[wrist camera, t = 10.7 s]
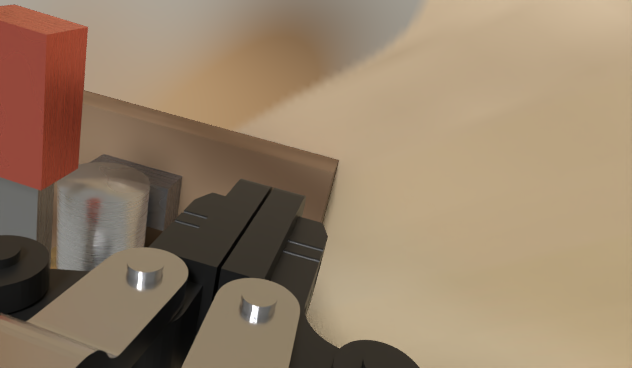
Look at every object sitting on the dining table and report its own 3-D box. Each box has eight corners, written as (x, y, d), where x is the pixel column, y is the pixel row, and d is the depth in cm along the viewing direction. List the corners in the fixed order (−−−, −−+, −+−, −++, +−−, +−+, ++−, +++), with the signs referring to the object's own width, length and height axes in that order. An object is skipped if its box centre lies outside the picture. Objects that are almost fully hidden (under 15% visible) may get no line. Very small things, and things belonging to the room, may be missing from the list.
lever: (70, 424, 19) (42, 462, 18) (0, 399, 19) (-34, 434, 18) (102, 31, 13) (62, 39, 12) (0, 0, 13) (-51, 4, 12)
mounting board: (278, 395, 28) (270, 417, 27) (38, 320, 29) (20, 338, 28) (338, 160, 22) (333, 173, 21) (36, 77, 23) (13, 84, 22)
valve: (161, 390, 27) (87, 514, 21) (87, 366, 28) (-8, 481, 22) (190, 167, 22) (101, 246, 16) (97, 141, 22) (-25, 208, 16)
